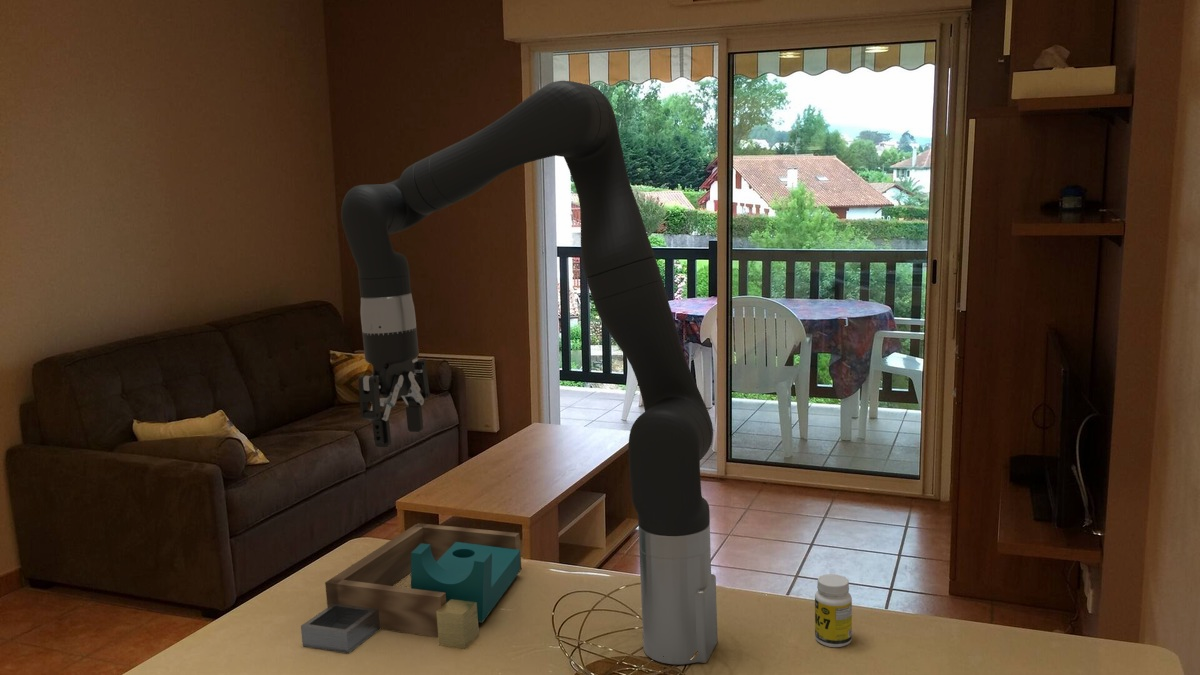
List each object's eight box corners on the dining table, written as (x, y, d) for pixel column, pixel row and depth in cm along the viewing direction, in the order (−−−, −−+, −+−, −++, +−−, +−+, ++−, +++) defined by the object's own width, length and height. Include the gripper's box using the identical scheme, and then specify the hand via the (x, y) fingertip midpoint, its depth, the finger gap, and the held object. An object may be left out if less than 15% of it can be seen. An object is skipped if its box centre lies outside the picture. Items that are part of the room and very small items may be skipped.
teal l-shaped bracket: (482, 632, 136) (483, 562, 134) (410, 621, 138) (411, 552, 136) (519, 580, 153) (521, 517, 151) (455, 571, 155) (456, 509, 153)
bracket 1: (521, 568, 156) (519, 533, 155) (443, 638, 133) (440, 597, 132) (420, 557, 163) (417, 523, 162) (328, 621, 140) (325, 582, 139)
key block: (479, 636, 133) (476, 602, 132) (464, 649, 129) (462, 614, 129) (453, 632, 135) (451, 599, 134) (439, 645, 131) (436, 611, 130)
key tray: (380, 628, 137) (378, 609, 136) (348, 653, 130) (346, 632, 129) (336, 622, 139) (334, 603, 139) (302, 646, 132) (300, 625, 132)
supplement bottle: (808, 635, 129) (807, 576, 128) (838, 628, 130) (837, 569, 129) (828, 651, 124) (828, 589, 123) (859, 643, 126) (859, 583, 125)
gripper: (383, 335, 128) (395, 453, 130) (438, 319, 141) (447, 426, 144) (336, 335, 131) (348, 451, 133) (394, 320, 144) (404, 425, 146)
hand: (400, 438), depth 138 cm, fingers open, 8 cm apart
